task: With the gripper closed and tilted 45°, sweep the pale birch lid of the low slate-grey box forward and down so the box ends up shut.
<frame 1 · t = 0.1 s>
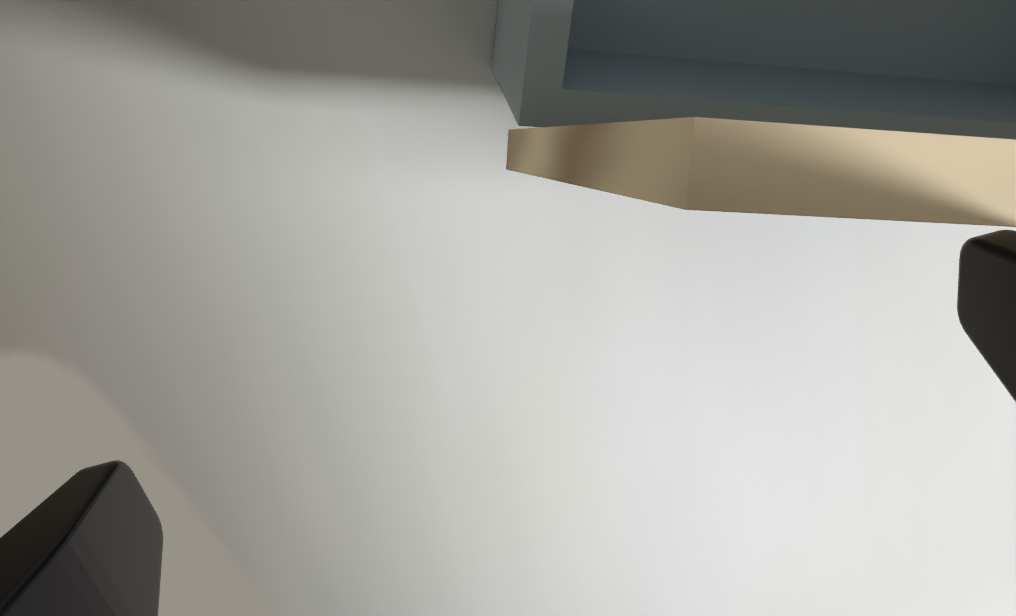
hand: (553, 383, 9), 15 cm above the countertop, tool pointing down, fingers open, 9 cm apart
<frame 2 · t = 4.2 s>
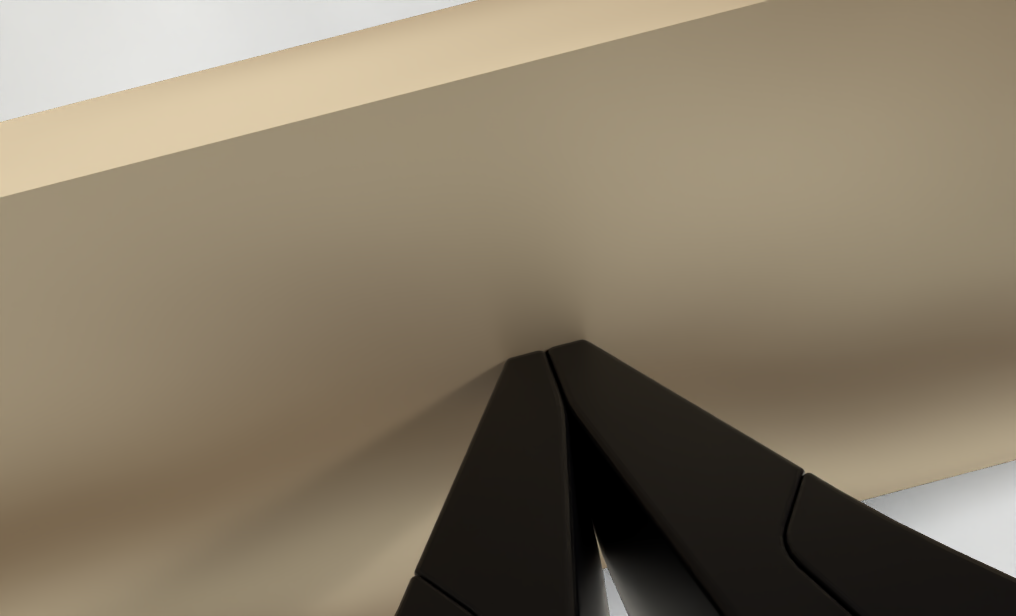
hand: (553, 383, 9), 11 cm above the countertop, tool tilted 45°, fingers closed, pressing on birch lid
birch lid: (552, 399, 10), point 10 cm above the countertop, hinge at 70.2°, touching gripper
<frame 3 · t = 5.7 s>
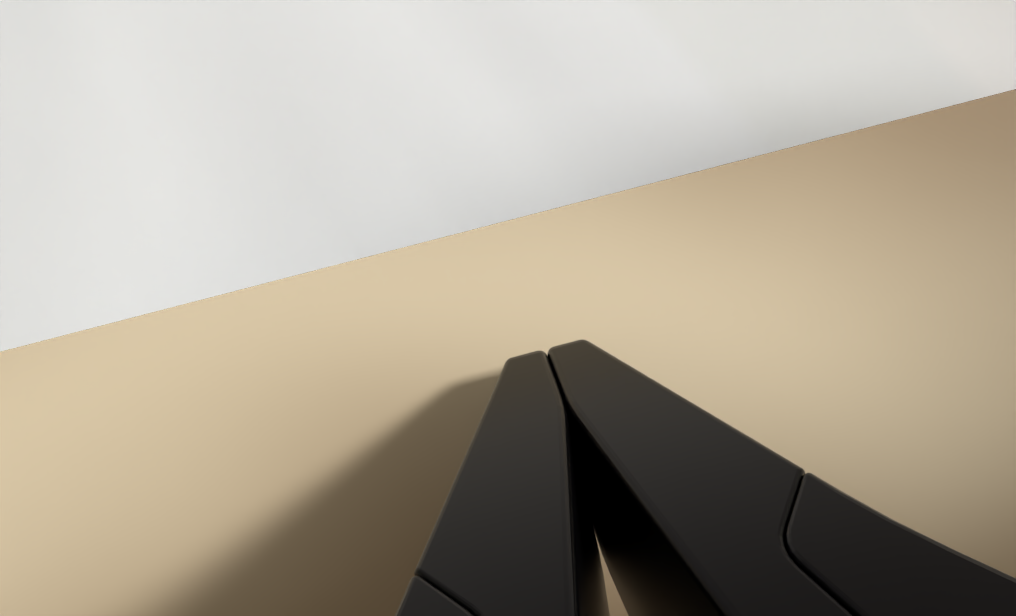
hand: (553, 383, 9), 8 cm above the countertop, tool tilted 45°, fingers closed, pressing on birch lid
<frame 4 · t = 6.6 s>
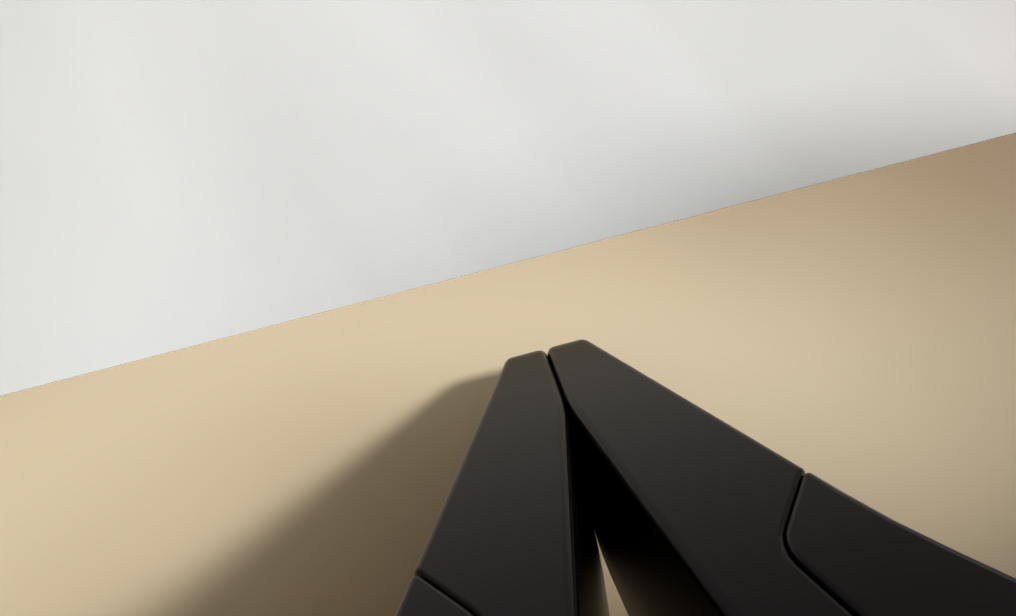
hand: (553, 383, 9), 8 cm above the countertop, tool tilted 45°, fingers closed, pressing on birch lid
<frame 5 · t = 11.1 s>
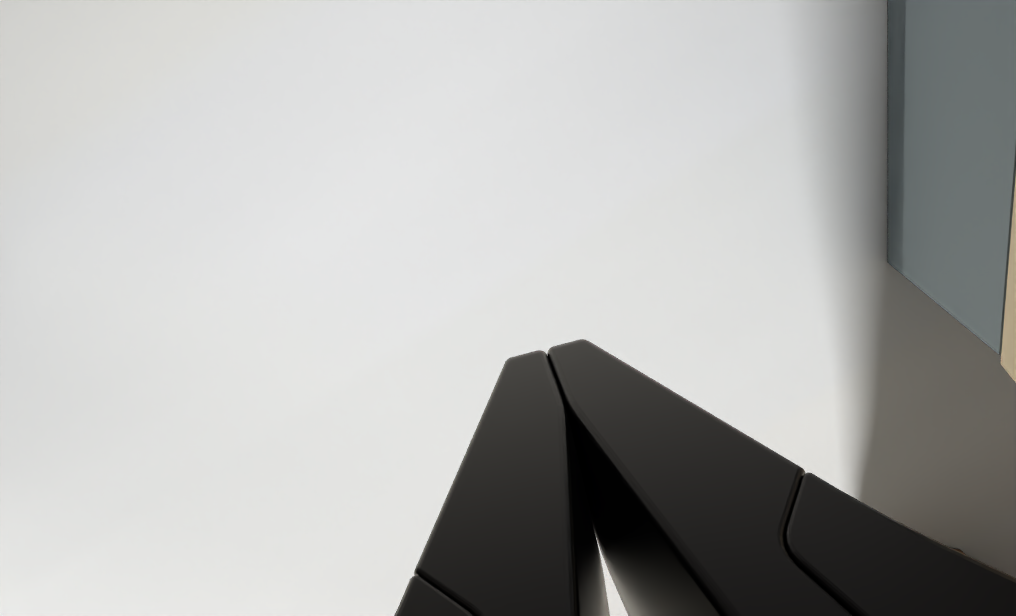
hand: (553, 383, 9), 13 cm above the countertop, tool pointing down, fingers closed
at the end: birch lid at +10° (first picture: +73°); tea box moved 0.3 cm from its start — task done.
